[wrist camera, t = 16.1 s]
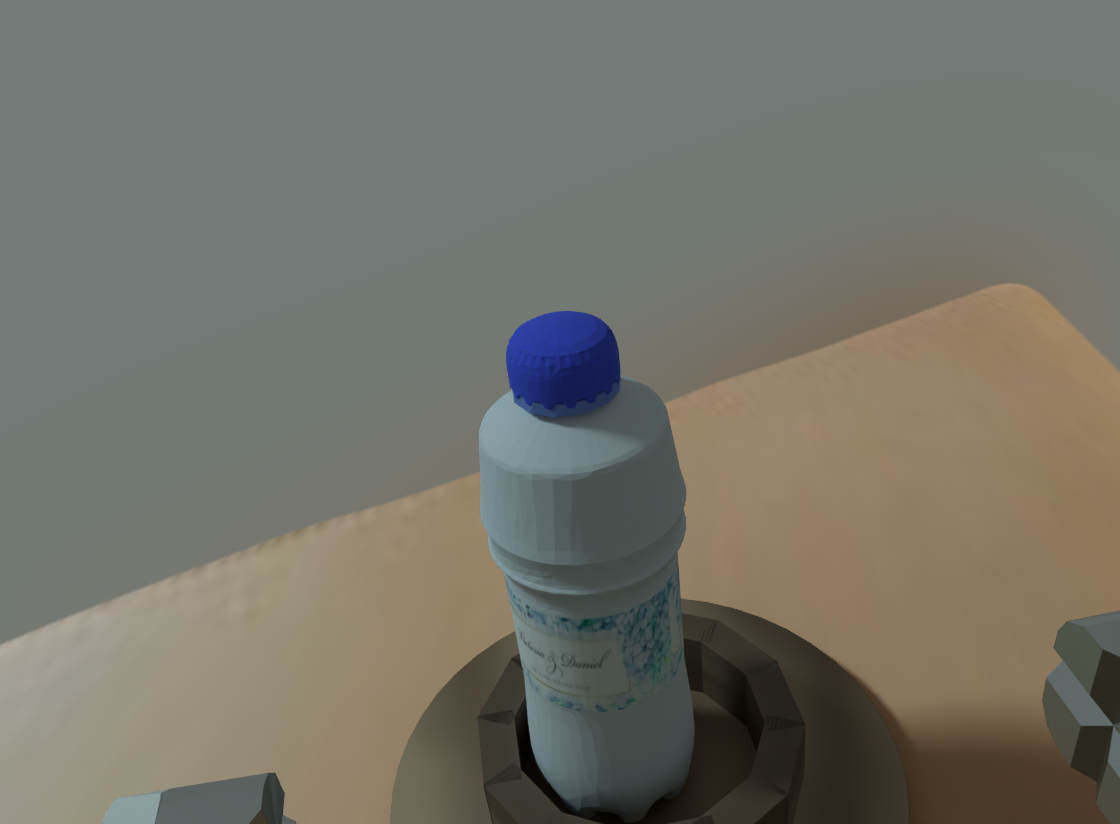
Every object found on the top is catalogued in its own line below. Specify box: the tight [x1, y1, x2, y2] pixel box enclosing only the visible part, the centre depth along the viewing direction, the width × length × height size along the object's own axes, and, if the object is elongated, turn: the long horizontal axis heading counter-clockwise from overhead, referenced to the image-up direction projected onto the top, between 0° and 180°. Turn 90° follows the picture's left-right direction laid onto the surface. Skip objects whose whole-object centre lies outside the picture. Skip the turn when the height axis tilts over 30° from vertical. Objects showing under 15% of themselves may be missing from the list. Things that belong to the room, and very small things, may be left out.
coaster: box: [390, 599, 910, 824], centre depth 39 cm, size 20×20×4 cm
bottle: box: [479, 311, 695, 823], centre depth 35 cm, size 7×7×20 cm
